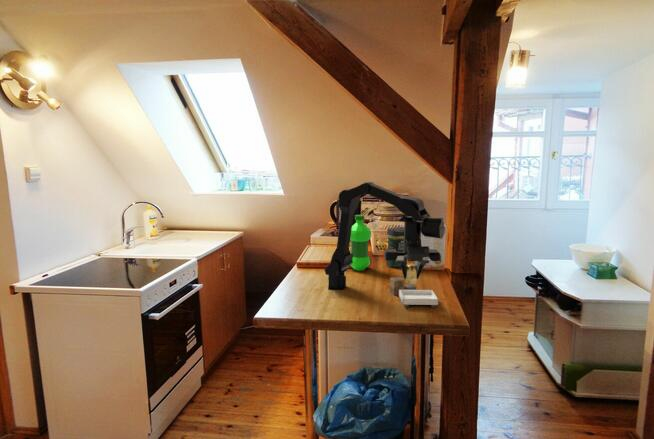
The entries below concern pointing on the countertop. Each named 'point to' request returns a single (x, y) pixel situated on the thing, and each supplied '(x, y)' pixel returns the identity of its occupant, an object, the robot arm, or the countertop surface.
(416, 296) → the white shallow tray
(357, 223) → the plastic bottle
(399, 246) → the coffee jar
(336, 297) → the countertop surface
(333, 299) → the countertop surface
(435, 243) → the cracker box
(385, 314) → the countertop surface
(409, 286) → the grey small block
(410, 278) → the small wooden cylinder
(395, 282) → the walnut block
